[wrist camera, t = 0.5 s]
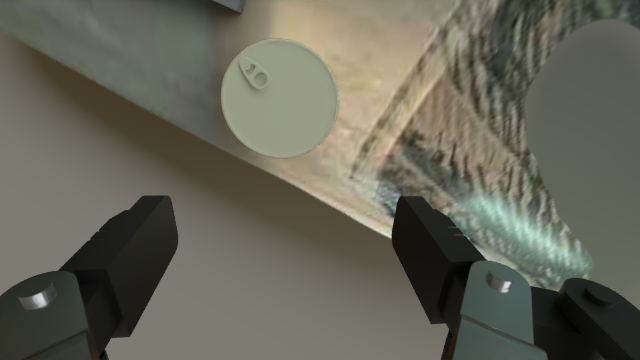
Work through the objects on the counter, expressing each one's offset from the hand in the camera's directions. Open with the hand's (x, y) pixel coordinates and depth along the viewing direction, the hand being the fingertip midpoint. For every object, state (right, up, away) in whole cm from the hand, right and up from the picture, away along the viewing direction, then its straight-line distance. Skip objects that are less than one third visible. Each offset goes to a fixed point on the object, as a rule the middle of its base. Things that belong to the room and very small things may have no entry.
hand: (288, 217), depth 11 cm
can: (-3, +12, +23) cm, 26 cm away
